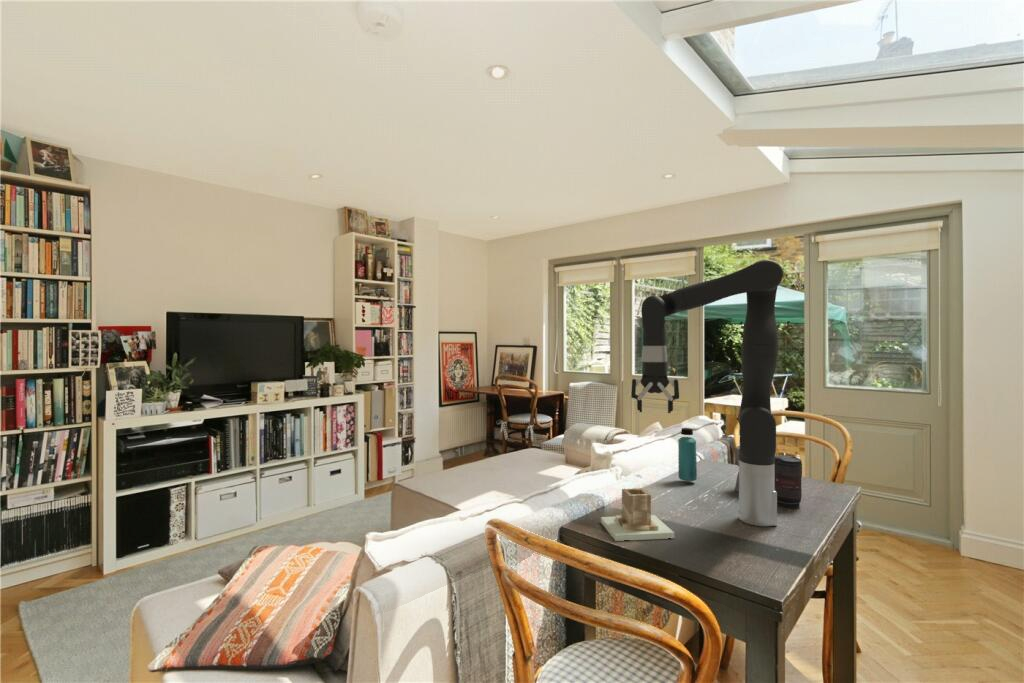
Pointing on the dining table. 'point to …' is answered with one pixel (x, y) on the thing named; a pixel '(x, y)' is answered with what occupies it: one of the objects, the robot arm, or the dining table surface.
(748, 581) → the dining table surface
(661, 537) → the post plate
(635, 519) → the flange collar
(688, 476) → the beverage bottle
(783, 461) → the camera lens
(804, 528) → the dining table surface
